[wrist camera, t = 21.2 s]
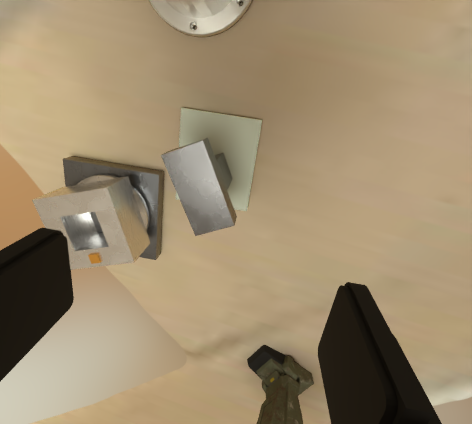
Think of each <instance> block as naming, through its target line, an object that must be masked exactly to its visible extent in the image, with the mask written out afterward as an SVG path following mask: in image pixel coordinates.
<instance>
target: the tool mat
mask: <svg viewBox="0 0 472 424" xmlns="http://www.w3.org/2000/svg"><path fill="white" fill-rule="evenodd" d="M261 124H262V120H259V119H253V118H247V117H240V116H234V115H227V114H221V113H214V112H208V111H201V110H195V109H189V108H181V119H180V135H179V147H182V146H185V145H188V144H191V143H194V142H196V141H199V140H202V139H205V138H208V139H209V142H210V144H211V147H212V150H213V153H214V155H217V154H220V153H223V152H224V155H225V158H226V161H227V164H228V167H229V169H230V172H231V175H232V178H233V179H232V181H231V184H230V186H229V188H228V190H227V191H228V194H229V197H230V199H231V202H232V205H233V208H234V209H237V210H242V211H247V207H248V202H249V196H250V190H251V184H252V178H253V172H254V166H255V160H256V154H257V148H258V142H259V136H260V130H261ZM176 199H178V200H180V199H179V196H178V194H177V192H176Z"/></svg>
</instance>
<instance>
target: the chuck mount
mask: <svg viewBox="0 0 472 424" xmlns="http://www.w3.org/2000/svg"><path fill="white" fill-rule="evenodd" d="M63 165H64V175H65V185H66V187H68V186H73V185H77V184H78V183H79V182H80V181H82V180H84V179H86V178H88V177H91V176H94V175H100V174H107V175H113V176H116V177H119V178H120V177H126V176H128V177H129V180H130V183H131V185H132V186H133V187H134V188H136V189H137V191H138V192H139V193H140V194H141V196H142V197H143V199H144V200H145V202H146V205H147V207H148V211H149V227H148V230H147V234H148V237H149V240H150V244H149V245H148V246H147V248H146V249H145V250H144V251H143V253H142V254H141V255H140V256H139V257H143V258H148V259H154V260H156V259H157V258H158V256H159V255H160V254H161V237H162V213H163V188H164V171H159V170H153V169H147V168H141V167H135V166H129V165H123V164H117V163H111V162H105V161H99V160H93V159H87V158H81V157H75V156H71V157H68V158H64V159H63Z"/></svg>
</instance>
